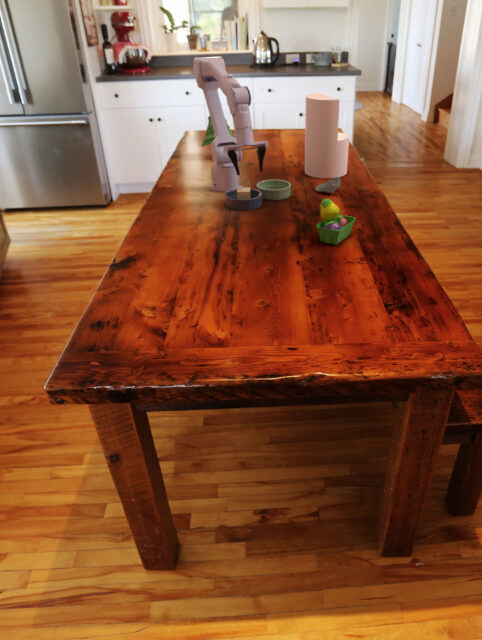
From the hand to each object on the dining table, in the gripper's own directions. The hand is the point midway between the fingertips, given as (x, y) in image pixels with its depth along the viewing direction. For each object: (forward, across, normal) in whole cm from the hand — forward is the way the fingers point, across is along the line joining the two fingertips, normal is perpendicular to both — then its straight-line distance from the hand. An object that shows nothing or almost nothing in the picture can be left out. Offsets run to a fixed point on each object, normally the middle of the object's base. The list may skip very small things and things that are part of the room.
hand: (249, 173), depth 161 cm
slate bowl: (+10, -3, +3) cm, 11 cm away
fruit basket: (+20, +18, -30) cm, 40 cm away
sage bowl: (+9, +9, +10) cm, 16 cm away
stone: (+11, +29, +10) cm, 32 cm away
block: (+10, -3, +3) cm, 11 cm away
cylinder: (+5, +36, +34) cm, 50 cm away
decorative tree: (-6, -3, +66) cm, 67 cm away
